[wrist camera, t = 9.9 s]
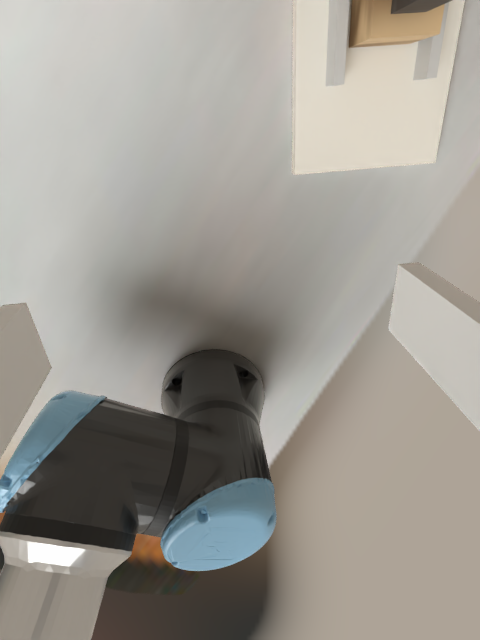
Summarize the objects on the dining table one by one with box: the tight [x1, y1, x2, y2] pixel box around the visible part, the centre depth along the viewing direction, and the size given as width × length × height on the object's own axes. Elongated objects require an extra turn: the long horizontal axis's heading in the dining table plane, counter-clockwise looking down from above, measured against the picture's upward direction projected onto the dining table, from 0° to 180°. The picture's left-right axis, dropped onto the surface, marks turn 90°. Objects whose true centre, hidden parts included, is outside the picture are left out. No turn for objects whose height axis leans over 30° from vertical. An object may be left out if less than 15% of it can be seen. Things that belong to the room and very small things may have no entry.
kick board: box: [292, 0, 465, 175], centre depth 34 cm, size 27×16×4 cm, turn 4°
